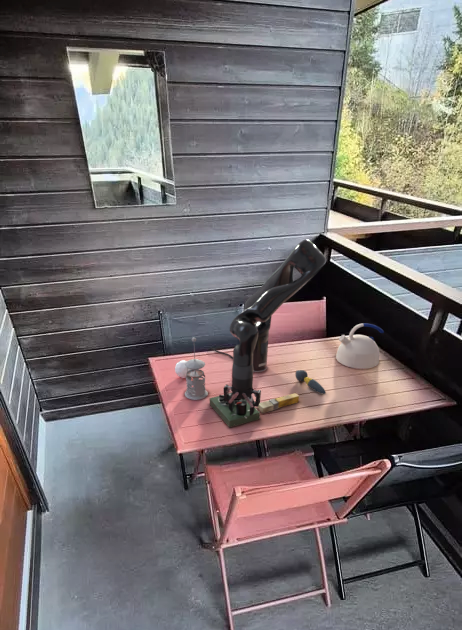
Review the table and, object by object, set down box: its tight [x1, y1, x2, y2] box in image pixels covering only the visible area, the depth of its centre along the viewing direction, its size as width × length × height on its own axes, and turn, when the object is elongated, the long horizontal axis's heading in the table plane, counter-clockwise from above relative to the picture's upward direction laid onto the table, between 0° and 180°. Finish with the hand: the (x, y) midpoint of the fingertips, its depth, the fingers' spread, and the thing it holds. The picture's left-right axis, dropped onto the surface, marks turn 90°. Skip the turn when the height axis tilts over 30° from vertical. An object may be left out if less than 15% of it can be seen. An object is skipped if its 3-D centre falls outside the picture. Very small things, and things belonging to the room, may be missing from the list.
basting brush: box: [257, 392, 300, 414], centre depth 177 cm, size 17×4×3 cm, turn 117°
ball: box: [174, 359, 192, 379], centre depth 194 cm, size 8×8×8 cm
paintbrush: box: [295, 369, 327, 395], centre depth 189 cm, size 20×5×5 cm, turn 38°
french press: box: [184, 337, 209, 401], centre depth 178 cm, size 10×12×25 cm
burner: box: [218, 391, 241, 407], centre depth 174 cm, size 9×9×2 cm
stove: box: [208, 392, 261, 428], centre depth 172 cm, size 19×13×3 cm
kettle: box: [335, 322, 385, 370], centre depth 206 cm, size 20×21×18 cm
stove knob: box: [236, 400, 247, 416], centre depth 166 cm, size 4×4×5 cm
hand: (241, 412), depth 167 cm, fingers open, 7 cm apart
